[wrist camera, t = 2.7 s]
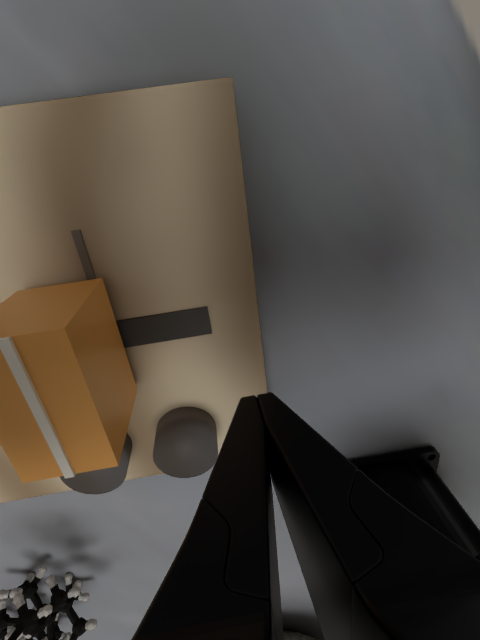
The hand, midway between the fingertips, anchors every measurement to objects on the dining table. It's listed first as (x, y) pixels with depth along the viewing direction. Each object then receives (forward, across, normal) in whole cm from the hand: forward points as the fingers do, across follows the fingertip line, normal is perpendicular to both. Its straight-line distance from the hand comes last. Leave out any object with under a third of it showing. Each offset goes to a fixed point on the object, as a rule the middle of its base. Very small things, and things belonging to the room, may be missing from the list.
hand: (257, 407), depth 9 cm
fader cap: (+5, +6, 0) cm, 8 cm away
